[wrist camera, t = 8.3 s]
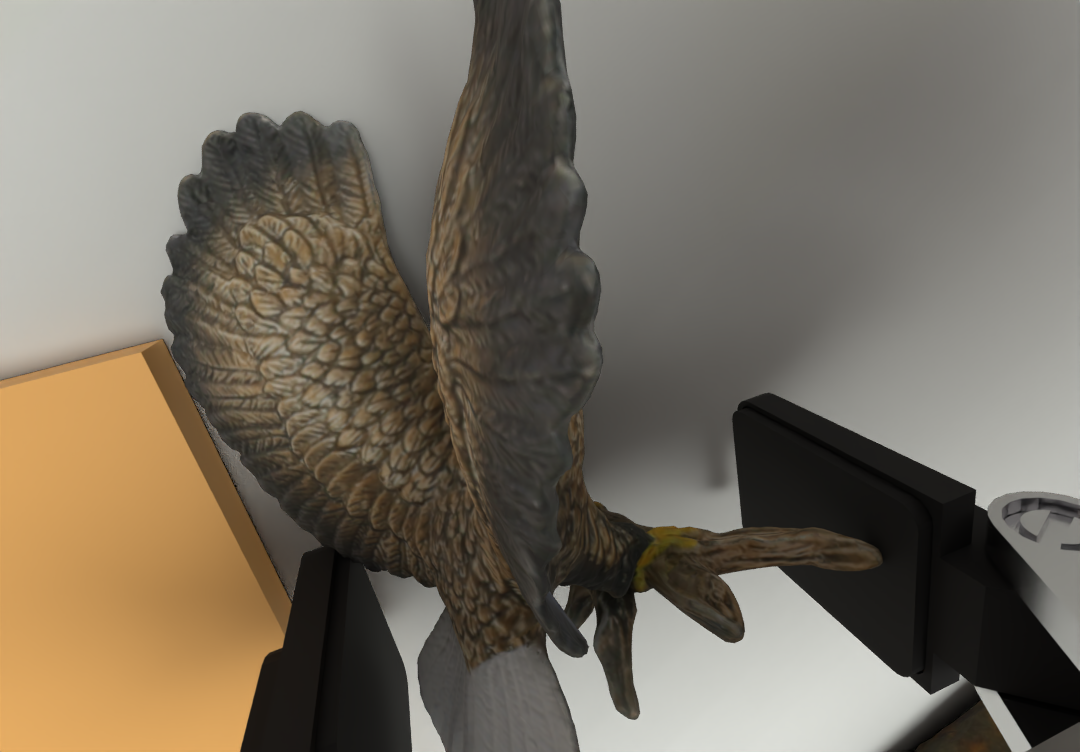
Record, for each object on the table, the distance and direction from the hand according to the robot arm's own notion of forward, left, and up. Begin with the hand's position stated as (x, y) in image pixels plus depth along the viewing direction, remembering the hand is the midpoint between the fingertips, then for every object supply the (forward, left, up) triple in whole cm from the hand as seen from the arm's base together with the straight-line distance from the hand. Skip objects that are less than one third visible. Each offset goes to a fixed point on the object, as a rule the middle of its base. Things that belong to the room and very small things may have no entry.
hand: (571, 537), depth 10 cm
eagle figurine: (+1, -3, -2) cm, 4 cm away
